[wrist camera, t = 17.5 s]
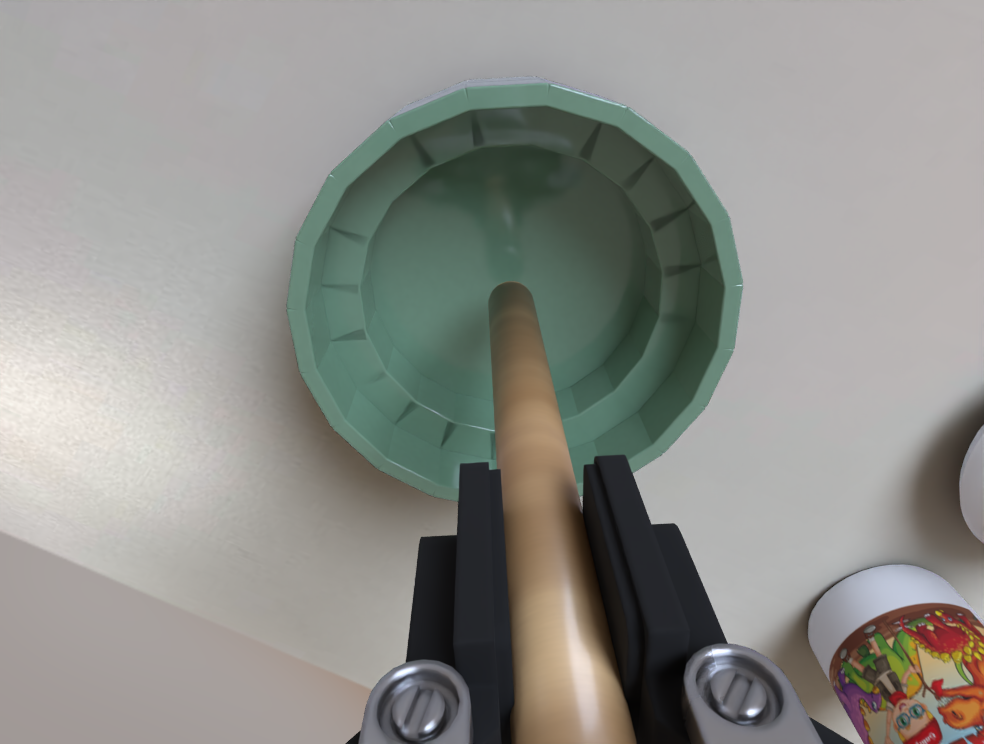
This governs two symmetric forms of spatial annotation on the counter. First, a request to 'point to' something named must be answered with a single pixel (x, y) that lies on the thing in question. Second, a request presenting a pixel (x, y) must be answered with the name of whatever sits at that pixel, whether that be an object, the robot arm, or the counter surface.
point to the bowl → (512, 278)
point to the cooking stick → (547, 550)
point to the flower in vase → (973, 486)
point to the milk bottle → (903, 656)
